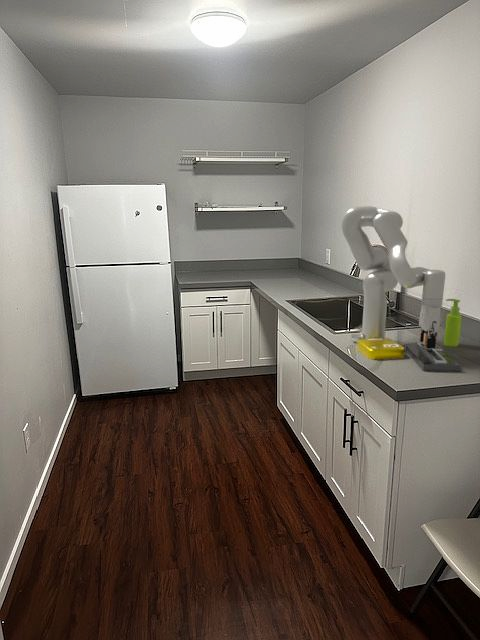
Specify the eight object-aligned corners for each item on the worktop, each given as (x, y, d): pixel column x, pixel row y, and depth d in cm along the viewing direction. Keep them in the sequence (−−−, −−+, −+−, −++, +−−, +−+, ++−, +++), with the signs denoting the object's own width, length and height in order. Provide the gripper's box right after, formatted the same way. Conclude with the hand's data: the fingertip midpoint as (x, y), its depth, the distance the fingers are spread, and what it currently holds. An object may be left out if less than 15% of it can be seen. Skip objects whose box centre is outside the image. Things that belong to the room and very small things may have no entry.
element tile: (388, 347, 195) (389, 336, 194) (405, 358, 181) (406, 347, 180) (355, 348, 193) (355, 338, 192) (370, 360, 179) (371, 349, 177)
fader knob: (424, 350, 180) (426, 334, 179) (421, 347, 184) (423, 332, 182) (432, 350, 180) (433, 335, 178) (429, 347, 184) (430, 332, 182)
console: (423, 370, 167) (424, 361, 166) (404, 350, 190) (405, 342, 189) (459, 371, 166) (460, 362, 165) (436, 350, 189) (437, 342, 188)
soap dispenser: (443, 341, 201) (448, 297, 196) (459, 344, 197) (465, 299, 192) (439, 344, 197) (444, 299, 192) (456, 347, 193) (461, 301, 188)
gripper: (415, 296, 186) (411, 338, 190) (429, 306, 169) (424, 351, 173) (434, 297, 185) (429, 338, 190) (450, 306, 168) (444, 352, 173)
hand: (427, 344), depth 181 cm, fingers open, 7 cm apart
